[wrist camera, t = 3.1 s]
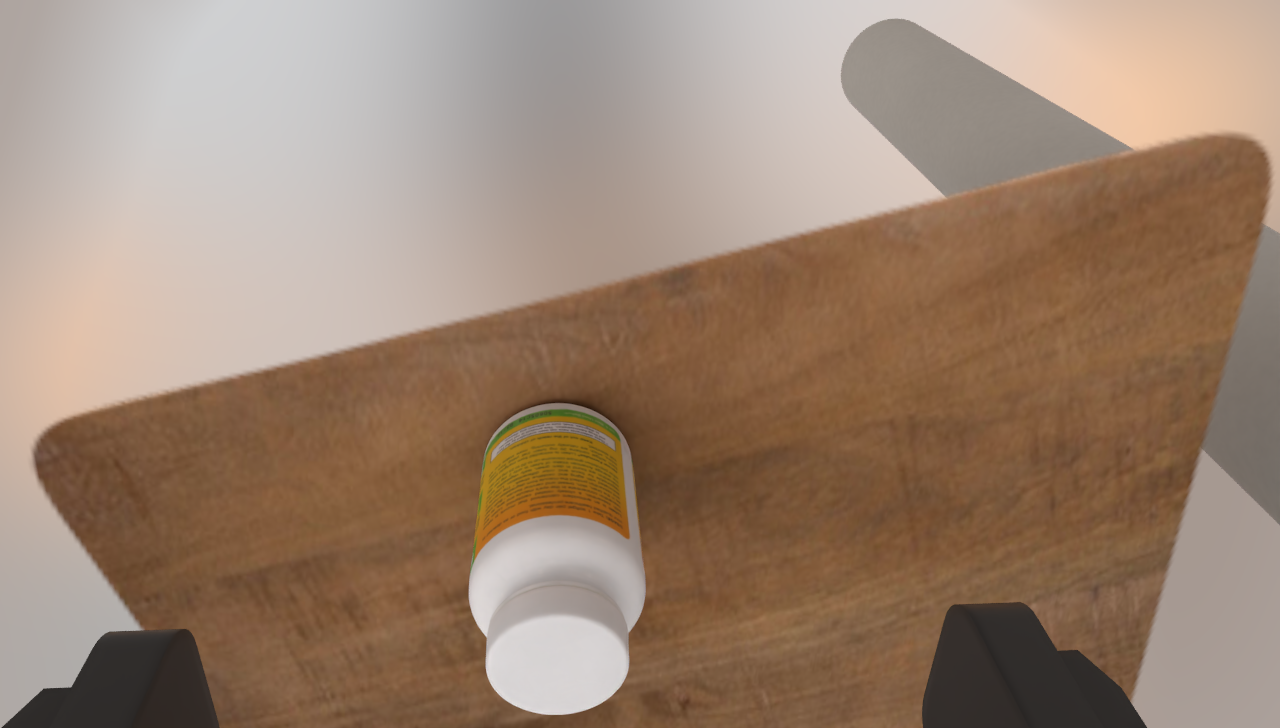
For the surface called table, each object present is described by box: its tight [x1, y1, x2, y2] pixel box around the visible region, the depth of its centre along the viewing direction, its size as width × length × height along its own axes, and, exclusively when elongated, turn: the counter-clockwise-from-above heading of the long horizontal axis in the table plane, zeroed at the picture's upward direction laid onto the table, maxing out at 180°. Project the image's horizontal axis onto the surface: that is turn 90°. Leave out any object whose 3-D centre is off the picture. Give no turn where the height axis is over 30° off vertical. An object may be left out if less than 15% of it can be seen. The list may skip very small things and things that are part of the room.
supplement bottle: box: [469, 403, 646, 715], centre depth 30 cm, size 5×5×10 cm
